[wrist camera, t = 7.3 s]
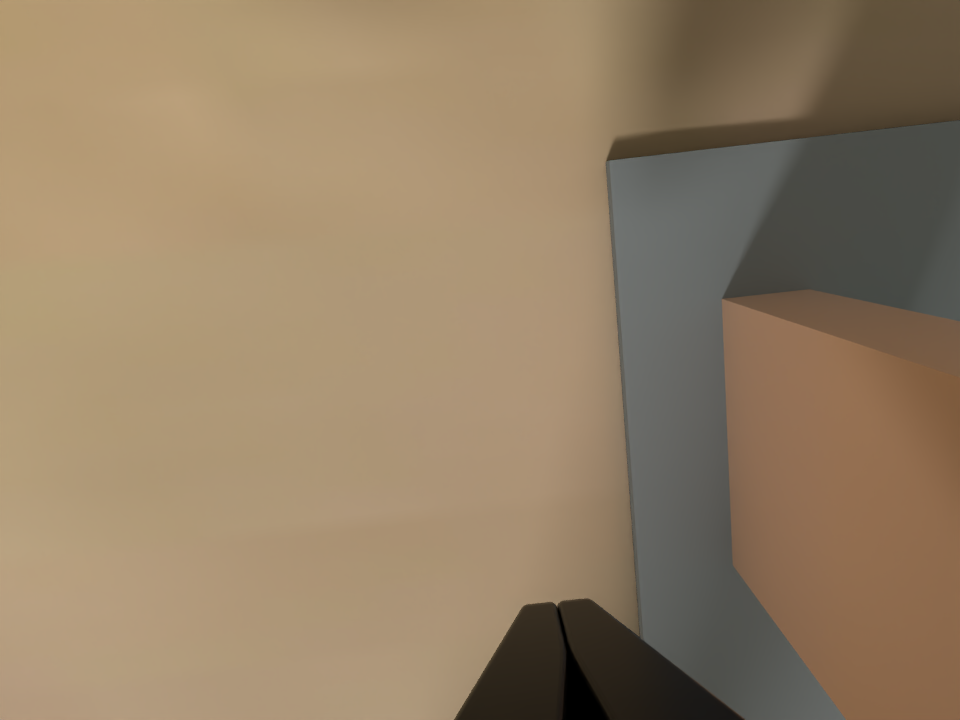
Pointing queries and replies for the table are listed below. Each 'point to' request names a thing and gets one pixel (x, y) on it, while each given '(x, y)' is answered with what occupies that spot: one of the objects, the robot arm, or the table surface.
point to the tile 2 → (850, 492)
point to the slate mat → (700, 354)
